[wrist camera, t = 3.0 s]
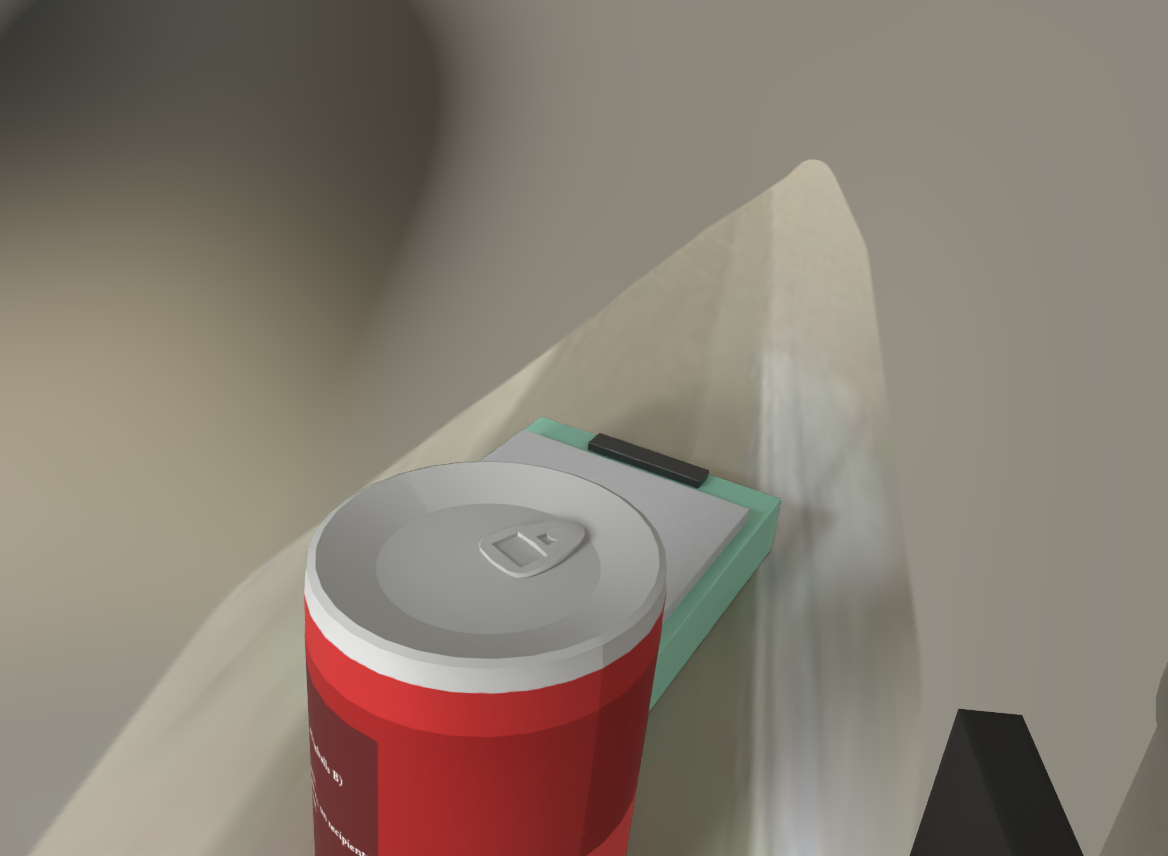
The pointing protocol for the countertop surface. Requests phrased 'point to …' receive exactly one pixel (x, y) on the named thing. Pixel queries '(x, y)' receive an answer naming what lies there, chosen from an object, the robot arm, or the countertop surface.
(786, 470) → the countertop surface
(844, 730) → the countertop surface
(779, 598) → the countertop surface
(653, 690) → the scale
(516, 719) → the canned food
